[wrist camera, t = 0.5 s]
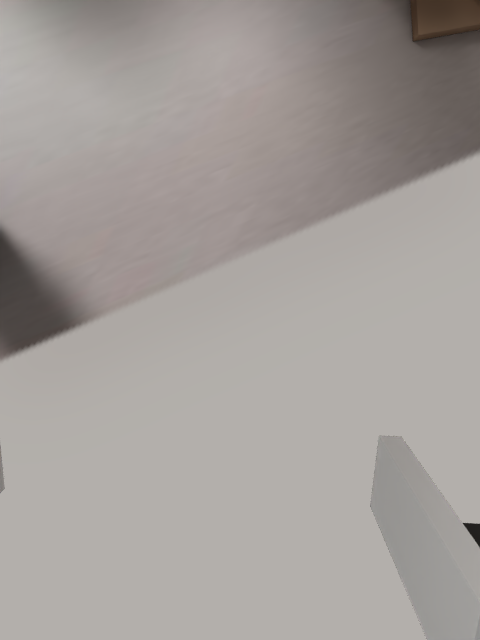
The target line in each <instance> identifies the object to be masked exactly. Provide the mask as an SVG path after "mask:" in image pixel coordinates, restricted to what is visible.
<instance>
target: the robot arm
mask: <svg viewBox="0 0 480 640" xmlns="http://www.w3.org/2000/svg"><path fill="white" fill-rule="evenodd" d="M3 490H4V478H3V467H2V457H1V447H0V493H1V492H2V491H3ZM370 507H371V509H372V512H373V514H374V516H375V519H376V521H377V523H378V526H379V528H380V530H381V533H382V535H383V537H384V540H385V542H386V544H387V547H388V549H389V552H390V554H391V556H392V558H393V561H394V563H395V566H396V568H397V570H398V573H399V575H400V577H401V580H402V582H403V585H404V587H405V589H406V592H407V594H408V596H409V599H410V601H411V603H412V606H413V608H414V610H415V613H416V615H417V618H418V619H419V622H420V625H421V627H422V629H423V632H424V634H425V636H426V639H427V640H480V524H472V523H462V522H461V520H460V519H459V517H458V516H457V515H456V513H455V512H454V510H453V509H452V508H451V506H450V505H449V503H448V502H447V500H446V499H445V498H444V496H443V495H442V493H441V492H440V491H439V489H438V488H437V486H436V485H435V483H434V482H433V481H432V479H431V478H430V476H429V475H428V474H427V472H426V471H425V469H424V468H423V467H422V465H421V464H420V462H419V461H418V460H417V458H416V457H415V455H414V454H413V452H412V451H411V449H410V448H409V447H408V445H407V444H406V442H405V441H404V440H403V438H402V437H397V436H379V440H378V449H377V456H376V465H375V472H374V481H373V488H372V497H371V504H370Z"/></svg>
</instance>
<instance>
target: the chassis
mask: <svg viewBox="0 0 480 640" xmlns="http://www.w3.org/2000/svg"><path fill="white" fill-rule="evenodd" d="M410 1H411V18H412V34H413V41H417V40H423V39H429V38H434V37H440V36H446V35H451V34H457V33H462V32H468V31H474V30H479V29H480V0H410Z"/></svg>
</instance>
